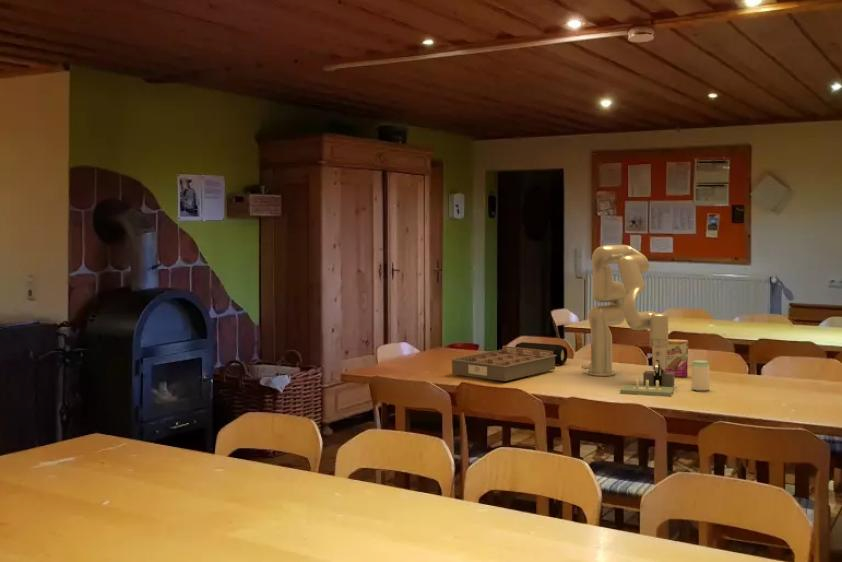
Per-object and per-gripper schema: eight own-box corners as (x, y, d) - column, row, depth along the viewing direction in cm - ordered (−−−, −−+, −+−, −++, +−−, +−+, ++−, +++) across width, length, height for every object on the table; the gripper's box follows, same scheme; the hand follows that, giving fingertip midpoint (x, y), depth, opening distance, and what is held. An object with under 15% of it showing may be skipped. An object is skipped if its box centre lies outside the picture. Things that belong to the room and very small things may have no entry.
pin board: (620, 393, 348) (620, 381, 348) (624, 388, 360) (624, 376, 359) (671, 396, 341) (671, 384, 341) (674, 390, 352) (674, 378, 352)
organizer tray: (449, 376, 394) (449, 355, 394) (503, 365, 423) (503, 345, 423) (505, 384, 373) (504, 362, 372) (557, 372, 402) (557, 351, 401)
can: (712, 391, 350) (712, 362, 349) (695, 391, 349) (695, 362, 348) (705, 388, 357) (705, 359, 356) (688, 388, 356) (688, 360, 355)
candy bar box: (661, 376, 384) (661, 340, 383) (662, 374, 389) (662, 339, 388) (687, 377, 380) (687, 341, 379) (688, 375, 385) (688, 339, 384)
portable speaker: (513, 362, 429) (512, 343, 429) (522, 360, 437) (521, 340, 437) (560, 366, 415) (559, 346, 415) (568, 363, 423) (568, 343, 423)
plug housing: (643, 387, 362) (643, 373, 361) (645, 384, 367) (645, 370, 367) (672, 388, 357) (672, 374, 357) (674, 386, 363) (674, 372, 362)
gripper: (665, 345, 351) (665, 387, 353) (670, 340, 367) (670, 379, 369) (647, 345, 354) (647, 386, 355) (652, 339, 370) (652, 379, 371)
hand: (658, 382), depth 362 cm, fingers open, 9 cm apart
